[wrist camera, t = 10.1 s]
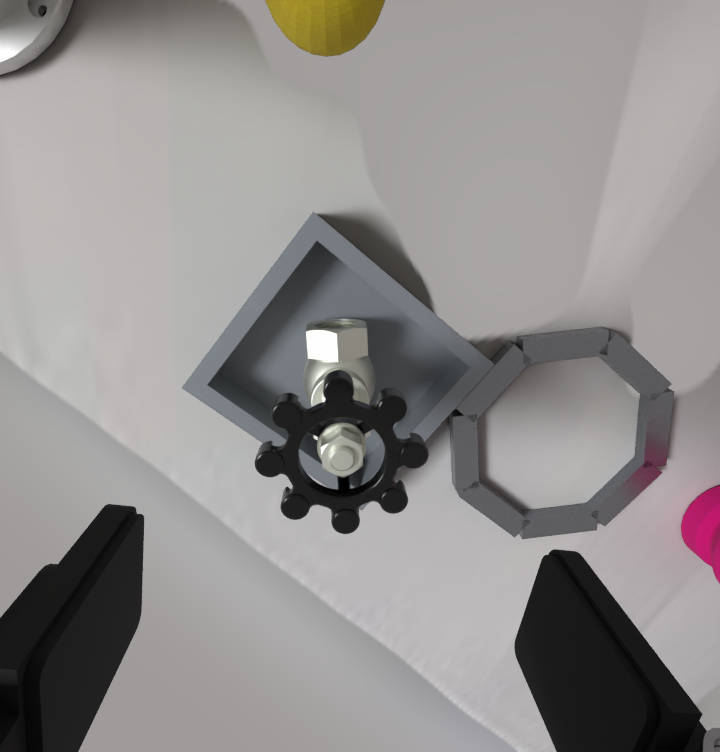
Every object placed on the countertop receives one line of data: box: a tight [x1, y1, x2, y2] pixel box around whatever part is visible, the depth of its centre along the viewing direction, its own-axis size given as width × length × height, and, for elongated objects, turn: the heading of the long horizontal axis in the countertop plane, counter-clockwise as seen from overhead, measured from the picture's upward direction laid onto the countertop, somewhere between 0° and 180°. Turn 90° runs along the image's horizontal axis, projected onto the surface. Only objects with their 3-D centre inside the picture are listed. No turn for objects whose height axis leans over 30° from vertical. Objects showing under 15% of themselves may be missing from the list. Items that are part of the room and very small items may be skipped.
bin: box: [182, 212, 495, 510], centre depth 28 cm, size 13×12×4 cm
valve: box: [255, 319, 429, 534], centre depth 23 cm, size 7×7×12 cm
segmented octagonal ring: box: [449, 327, 674, 539], centre depth 32 cm, size 15×15×1 cm
